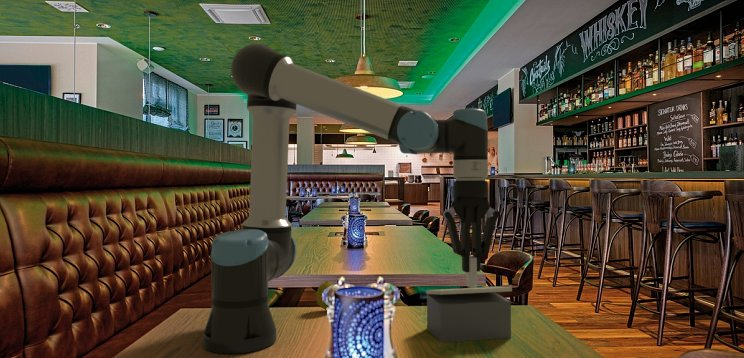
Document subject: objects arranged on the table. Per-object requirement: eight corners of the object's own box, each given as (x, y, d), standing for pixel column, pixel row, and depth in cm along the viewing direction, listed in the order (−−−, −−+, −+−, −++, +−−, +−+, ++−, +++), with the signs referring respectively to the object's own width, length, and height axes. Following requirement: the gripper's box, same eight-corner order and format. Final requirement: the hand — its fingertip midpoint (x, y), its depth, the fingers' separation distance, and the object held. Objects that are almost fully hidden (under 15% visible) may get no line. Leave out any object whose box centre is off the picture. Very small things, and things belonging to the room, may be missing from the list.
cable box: (440, 342, 107) (440, 304, 107) (427, 328, 117) (426, 294, 117) (510, 337, 110) (510, 301, 110) (491, 324, 120) (491, 291, 120)
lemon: (334, 314, 129) (334, 283, 129) (313, 313, 130) (313, 282, 130) (340, 309, 134) (340, 279, 134) (320, 308, 135) (320, 278, 135)
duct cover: (439, 294, 107) (439, 290, 107) (426, 293, 117) (425, 290, 117) (512, 291, 110) (511, 287, 110) (492, 290, 120) (492, 287, 120)
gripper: (447, 179, 106) (448, 291, 106) (505, 179, 109) (506, 288, 109) (437, 179, 114) (437, 284, 114) (491, 179, 116) (492, 281, 116)
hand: (471, 286), depth 111 cm, fingers closed
